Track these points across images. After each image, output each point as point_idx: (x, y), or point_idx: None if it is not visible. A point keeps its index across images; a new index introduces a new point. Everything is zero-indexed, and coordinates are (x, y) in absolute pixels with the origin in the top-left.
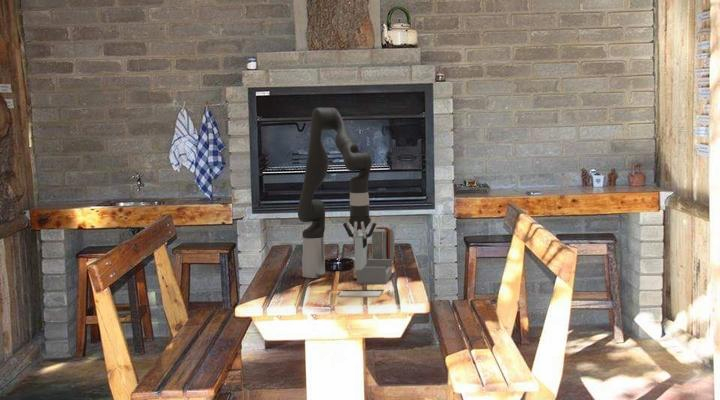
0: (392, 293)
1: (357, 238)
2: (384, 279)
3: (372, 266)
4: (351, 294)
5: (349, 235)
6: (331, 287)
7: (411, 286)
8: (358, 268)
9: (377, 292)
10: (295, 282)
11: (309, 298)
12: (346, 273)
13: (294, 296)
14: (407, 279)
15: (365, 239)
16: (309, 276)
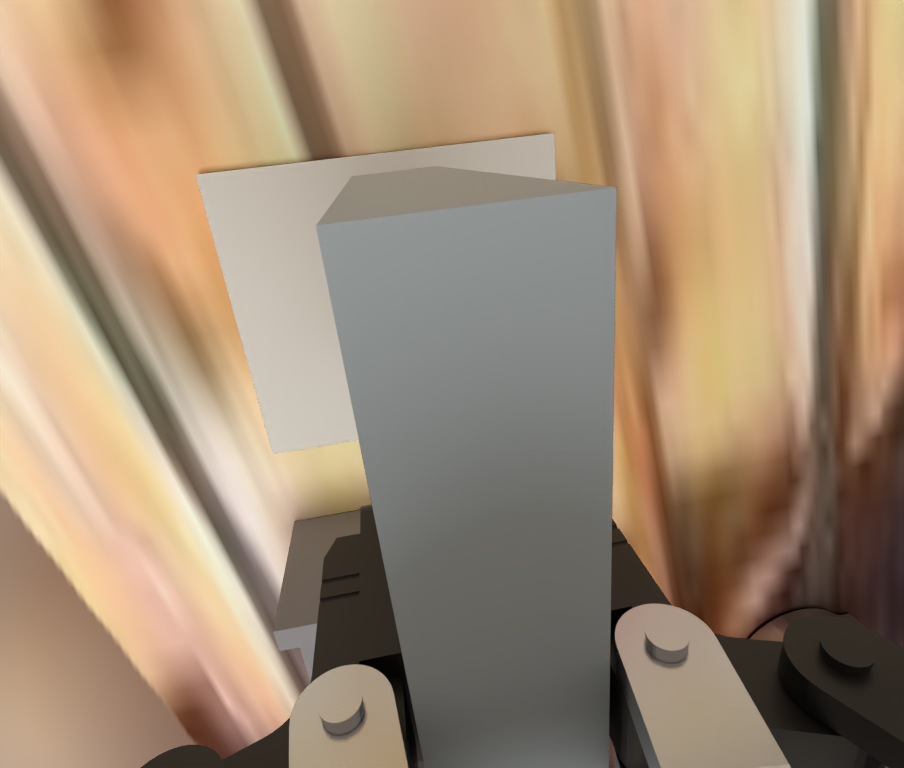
0: (151, 335)
1: (512, 376)
2: (297, 554)
3: None
4: None
5: (867, 649)
6: (657, 427)
7: (117, 570)
8: (392, 172)
9: (261, 293)
10: (885, 502)
11: (773, 26)
12: None
13: (890, 87)
14: (237, 719)
15: (336, 664)
16: (819, 614)
